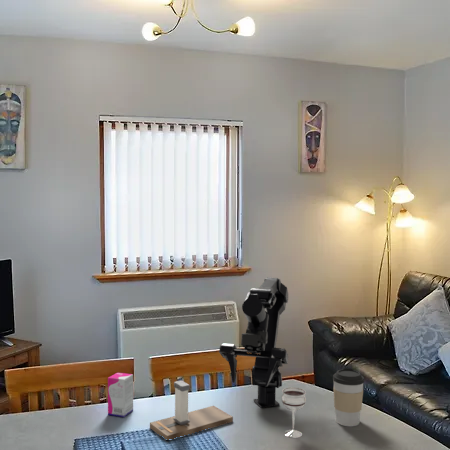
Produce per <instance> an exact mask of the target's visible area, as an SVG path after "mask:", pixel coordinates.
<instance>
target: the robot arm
mask: <svg viewBox="0 0 450 450" xmlns="http://www.w3.org/2000/svg"><path fill="white" fill-rule="evenodd" d="M288 303H289V290H288V287H287V286H286V285H285V284H284V283H282V281H281V278H278V277H266V278H264V281H263V282H262V284H261V285H260V286H257V287H255V286H254V287H252V288H250V290H249V291H248V292H247V295H246V296H245V299H244V301H243V303H242V306H241V309H242V312H243V314H244V316H245V318H246V320H247V325H246V330H245V333H241V338H240V339H241V342H240V345H241V346H242V348H237V346H236V345H235V344H234V343H223V342H222V343H221V344H220V346H219V350H218V353H219V354H220V356H222V358H223V359H225V360H226V361H227V362H228V365H229V370H230V377H231V382H232V383H233V384H235V382H236V377H237V366H238V360H237V357H238V356H239V357H240V356H241V357H251V358H255V359H254V360H255V361H254V365H253V366H252V368H251V383H252V386H257V398H253V402H254V403H255V404H256V405H258V407H260V408H261V409H265V408H271V407H272V408H273V407H279V406H280V405H281V404H280V402H278V400H277V399H276V398H277V397H276V396H277V395H276V393H277V391H276V389H279V388H280V387H282V386H283V377H282V372H281V370H280V367H283V365H288V362H289V354H288V351H287V350H286V348H284V347H283V348H282V347H281V348H280V347H277V341H278V332H279V325H280V318H281V317H280V316H281V315H282V313H284V312H285V310H286V308H287V307H286V306H287V304H288Z"/></svg>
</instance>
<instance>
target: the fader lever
mask: <svg viewBox="0 0 450 450" xmlns="http://www.w3.org/2000/svg"><path fill="white" fill-rule="evenodd" d="M173 387H174V390H175V391H174V416H175V418H173V420H174V421H176V422H177V423H178V424H180V425H183V424H186V423H190V420H188V412H189V391H190V388H191V386H190V384H188V383H187V382H185V381H183V380H177V381H173Z"/></svg>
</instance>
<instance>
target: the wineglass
mask: <svg viewBox="0 0 450 450" xmlns="http://www.w3.org/2000/svg"><path fill="white" fill-rule="evenodd" d="M281 392H282V395H281V402H282V404H283V406H284V407H285V408H286V409H287V410H289V411H290V412H291V413H292V414H291V417H292V418H291V419H292V421H291V423H292V429H287V430H285V431H284V433H283V434H284V436H286V437H288V438H293V439H295V438H296V439H297V438H301V437H302V435H303V433H302V432H301V431H300V430H297V429H295V421H296V420H295V418H296V417H295V416H296V412H297V411H300V410H301V409H302V408H303V407H304V406H306V403H307V398H306V394H307V391H306V390H305V389H303V388H299V387H285V388H283V389H282V390H281Z"/></svg>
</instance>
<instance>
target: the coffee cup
mask: <svg viewBox="0 0 450 450" xmlns="http://www.w3.org/2000/svg"><path fill="white" fill-rule="evenodd" d="M332 380H333V389H332V390H333V405H334V413H335V414H334V415H335V417H334V418H335V419H334V420H335V422H336V423H337V424H338V425H340V426H344V427H356V426H358V425H360V422H361V421H360V419H361V411H362V406H363V397H364V383H365V377H364V376H363V375H361V372H359V371H357V370H355V369H353V368H351V367H345V368H342V369H338V370H337V371H336V372H335V373H334V374H333V375H332Z"/></svg>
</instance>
